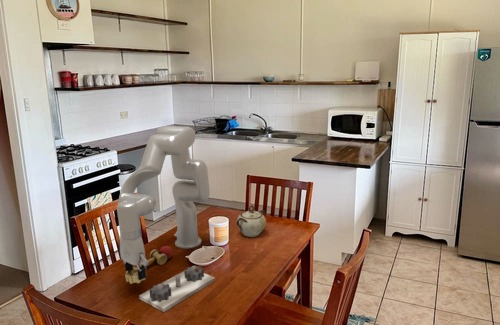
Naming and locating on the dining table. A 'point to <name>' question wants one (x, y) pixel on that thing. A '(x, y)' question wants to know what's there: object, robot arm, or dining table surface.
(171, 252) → the kendama
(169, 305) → the gear board
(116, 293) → the dining table surface
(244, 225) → the teapot
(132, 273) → the brass gear
